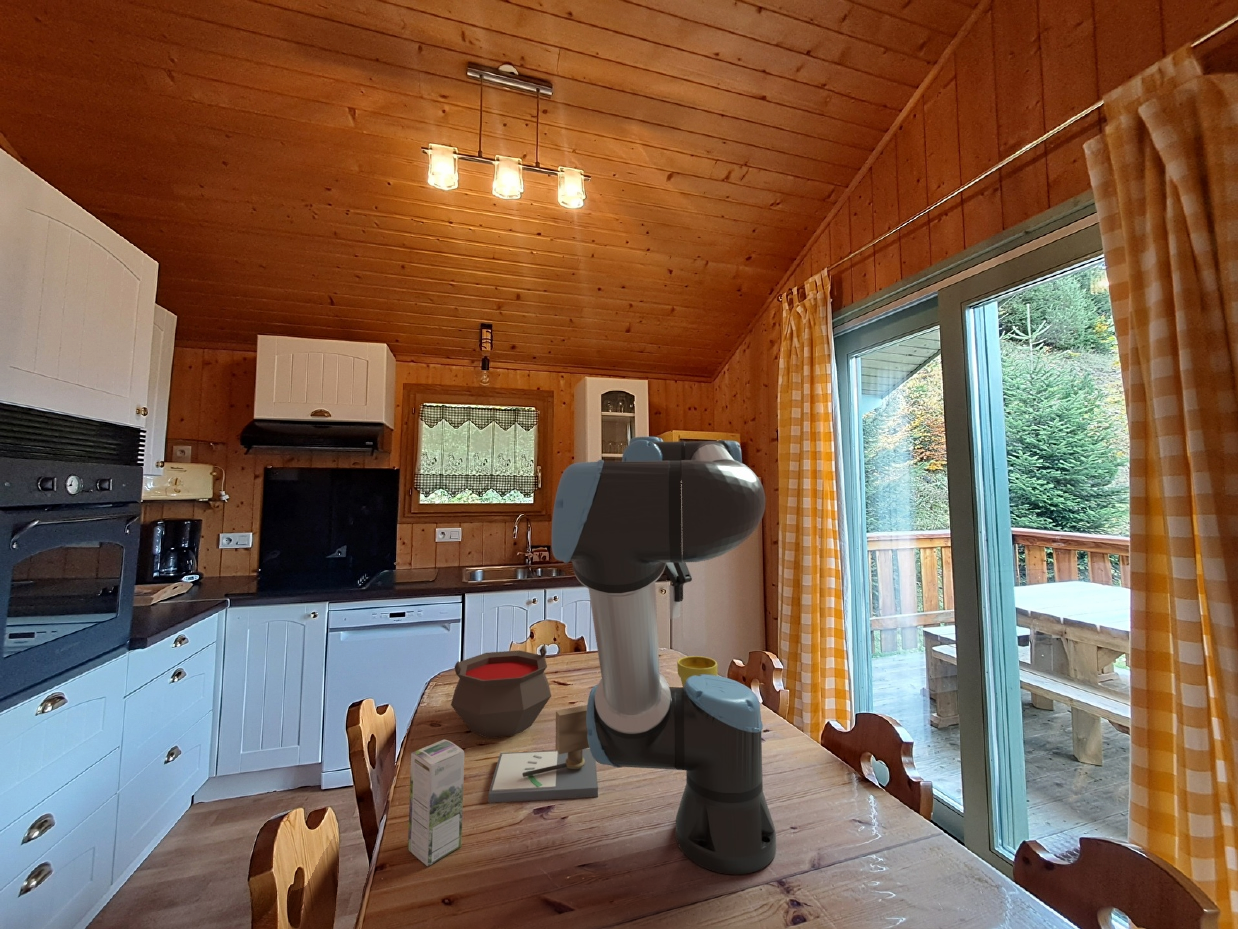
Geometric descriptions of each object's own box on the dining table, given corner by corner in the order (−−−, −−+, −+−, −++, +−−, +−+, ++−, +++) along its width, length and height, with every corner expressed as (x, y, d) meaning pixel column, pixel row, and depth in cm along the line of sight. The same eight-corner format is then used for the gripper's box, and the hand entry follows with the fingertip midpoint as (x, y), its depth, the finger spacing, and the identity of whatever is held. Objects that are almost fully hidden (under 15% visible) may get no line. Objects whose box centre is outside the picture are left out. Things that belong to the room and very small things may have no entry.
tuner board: (597, 796, 89) (597, 785, 89) (488, 802, 87) (488, 791, 87) (594, 756, 103) (594, 746, 103) (500, 761, 101) (500, 751, 101)
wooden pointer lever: (588, 755, 99) (589, 703, 99) (595, 764, 95) (595, 710, 96) (520, 771, 93) (521, 715, 94) (525, 781, 90) (525, 723, 90)
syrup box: (441, 831, 80) (443, 736, 81) (463, 847, 76) (464, 748, 77) (407, 851, 75) (409, 750, 76) (428, 869, 71) (430, 763, 72)
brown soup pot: (527, 695, 134) (527, 633, 135) (572, 729, 115) (572, 656, 116) (435, 718, 121) (436, 649, 122) (468, 761, 101) (469, 678, 102)
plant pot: (683, 709, 125) (682, 669, 126) (673, 693, 135) (673, 656, 136) (723, 707, 127) (722, 667, 127) (710, 691, 137) (710, 654, 137)
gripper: (707, 511, 101) (709, 618, 99) (613, 509, 117) (613, 602, 115) (687, 511, 95) (689, 626, 94) (591, 510, 111) (591, 607, 110)
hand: (647, 613), depth 105 cm, fingers open, 13 cm apart
